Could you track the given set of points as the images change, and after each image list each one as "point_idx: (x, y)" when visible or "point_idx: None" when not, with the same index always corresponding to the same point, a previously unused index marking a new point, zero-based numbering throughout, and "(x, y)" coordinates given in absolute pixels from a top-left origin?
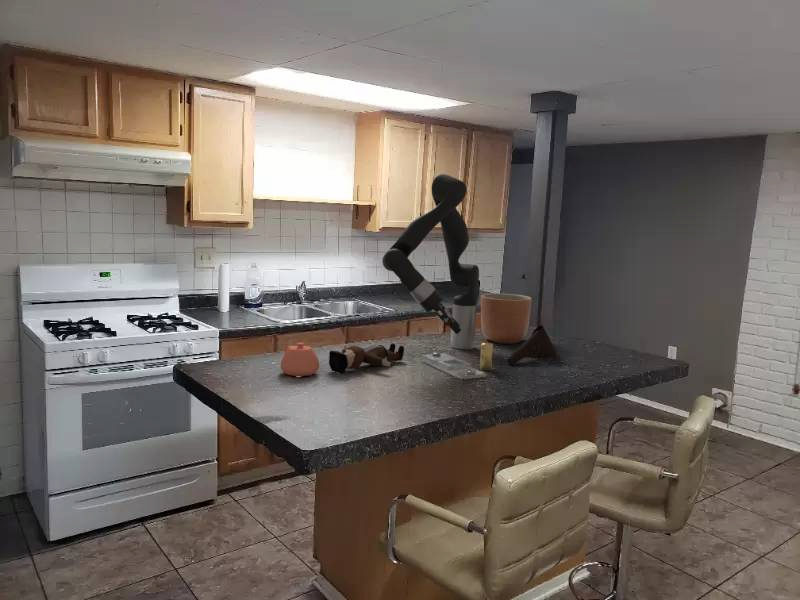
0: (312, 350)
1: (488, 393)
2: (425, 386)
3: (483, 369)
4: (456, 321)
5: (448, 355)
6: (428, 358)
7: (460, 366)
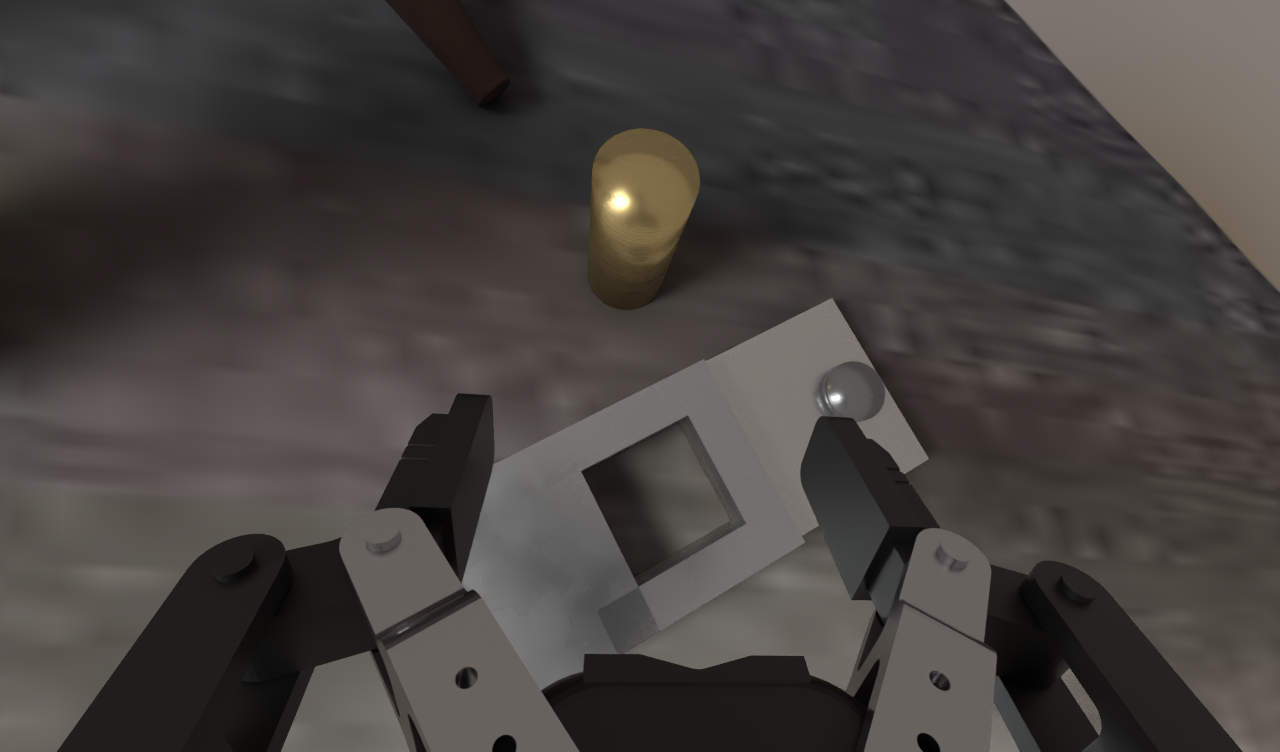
0: None
1: (1131, 345)
2: None
3: (658, 290)
4: (453, 442)
5: None
6: None
7: (748, 446)
